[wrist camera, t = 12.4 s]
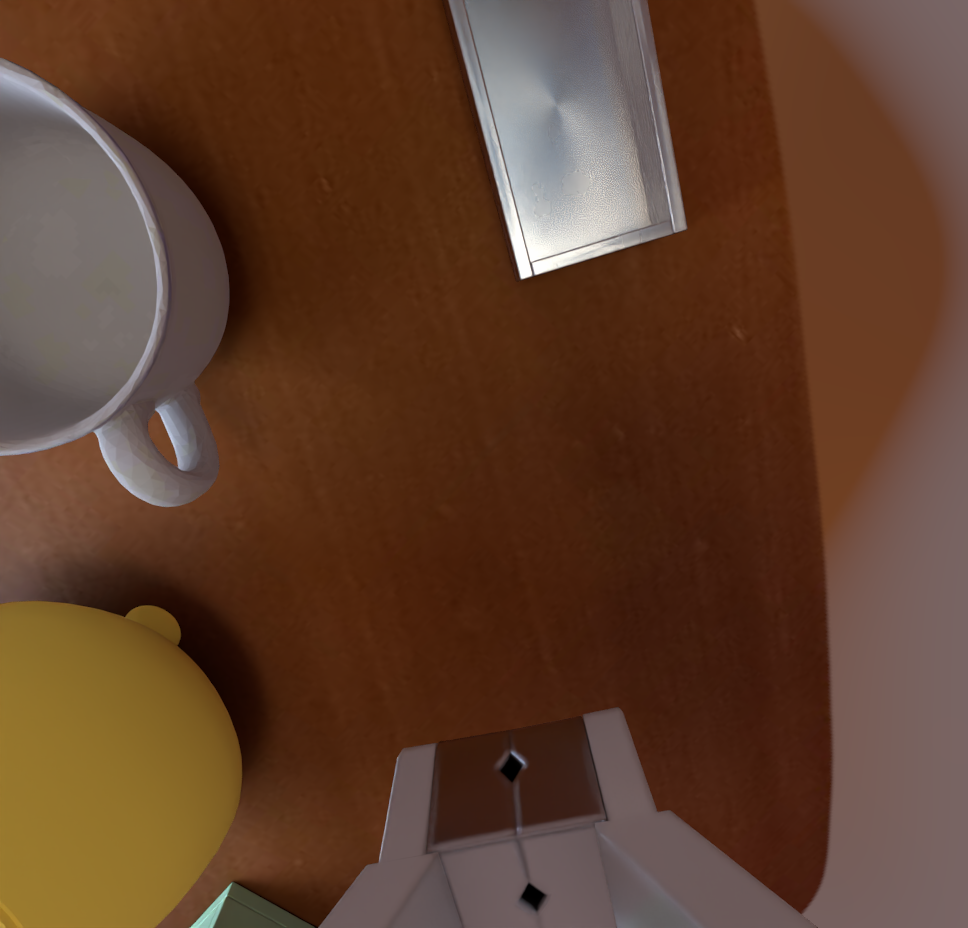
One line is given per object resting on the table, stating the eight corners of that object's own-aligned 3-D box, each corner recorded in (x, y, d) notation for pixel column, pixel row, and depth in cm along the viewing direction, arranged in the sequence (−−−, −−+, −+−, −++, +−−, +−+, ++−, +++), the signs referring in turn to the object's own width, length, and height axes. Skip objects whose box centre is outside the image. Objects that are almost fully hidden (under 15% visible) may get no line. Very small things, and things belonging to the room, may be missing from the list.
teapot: (339, 853, 32) (236, 1251, 19) (78, 904, 33) (-195, 1315, 20) (203, 527, 26) (-80, 764, 13) (-105, 600, 27) (-658, 889, 14)
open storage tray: (662, 237, 23) (688, 229, 20) (516, 282, 23) (520, 280, 20) (599, -92, 20) (619, -159, 17) (433, -34, 20) (424, -88, 17)
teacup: (-65, 189, 22) (-356, 133, 14) (183, 76, 21) (12, -48, 13) (122, 506, 26) (-31, 595, 18) (341, 424, 25) (277, 482, 17)
